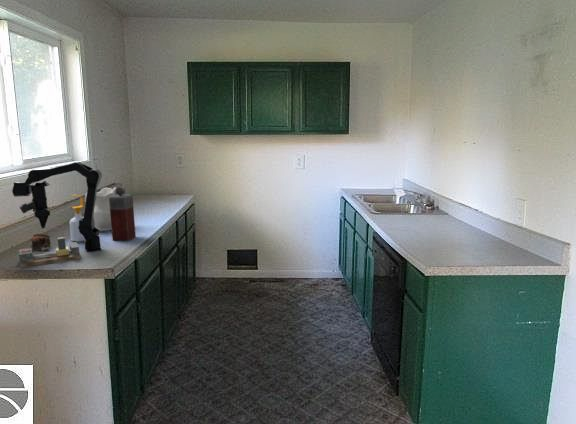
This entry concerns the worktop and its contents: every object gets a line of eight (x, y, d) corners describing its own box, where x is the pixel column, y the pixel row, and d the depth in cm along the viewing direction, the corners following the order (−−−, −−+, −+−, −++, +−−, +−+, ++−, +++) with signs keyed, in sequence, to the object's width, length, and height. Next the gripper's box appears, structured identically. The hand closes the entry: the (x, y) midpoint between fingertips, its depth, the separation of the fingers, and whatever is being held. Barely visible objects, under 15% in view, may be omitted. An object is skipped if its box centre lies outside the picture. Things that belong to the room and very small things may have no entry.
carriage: (68, 252, 209) (66, 236, 208) (69, 254, 205) (67, 238, 203) (56, 253, 207) (54, 237, 205) (57, 256, 202) (55, 239, 201)
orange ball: (29, 255, 200) (28, 249, 199) (29, 256, 198) (28, 251, 197) (23, 256, 199) (22, 250, 198) (23, 257, 197) (22, 251, 196)
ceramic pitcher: (107, 236, 251) (106, 192, 246) (76, 232, 255) (75, 188, 250) (128, 227, 272) (128, 187, 267) (99, 224, 275) (98, 184, 270)
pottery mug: (24, 250, 221) (27, 234, 224) (42, 254, 229) (44, 239, 232) (40, 247, 216) (42, 230, 218) (57, 251, 224) (60, 235, 226)
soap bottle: (69, 239, 240) (64, 194, 235) (87, 236, 246) (82, 192, 241) (73, 242, 233) (69, 196, 229) (92, 239, 239) (87, 194, 234)
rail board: (78, 252, 214) (77, 241, 213) (81, 258, 205) (80, 247, 204) (20, 261, 202) (18, 249, 201) (20, 267, 193) (19, 255, 192)
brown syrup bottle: (137, 235, 247) (133, 185, 241) (128, 240, 236) (124, 188, 230) (122, 235, 248) (117, 185, 242) (112, 240, 237) (107, 188, 231)
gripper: (18, 194, 214) (23, 226, 217) (20, 200, 199) (24, 234, 202) (45, 192, 220) (48, 223, 223) (48, 197, 205) (52, 231, 208)
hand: (43, 228), depth 214 cm, fingers closed
